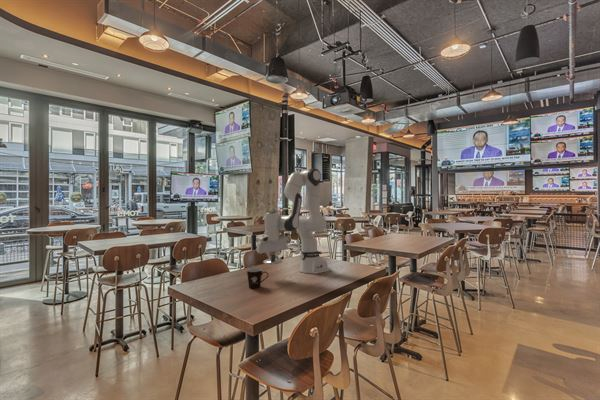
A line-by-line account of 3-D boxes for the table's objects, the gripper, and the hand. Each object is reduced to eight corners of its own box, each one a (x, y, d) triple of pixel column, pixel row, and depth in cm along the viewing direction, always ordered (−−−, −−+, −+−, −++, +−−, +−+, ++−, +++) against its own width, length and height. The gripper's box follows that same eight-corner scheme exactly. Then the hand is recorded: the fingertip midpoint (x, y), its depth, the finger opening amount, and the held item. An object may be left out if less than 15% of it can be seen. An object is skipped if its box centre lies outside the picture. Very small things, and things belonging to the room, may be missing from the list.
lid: (277, 258, 198) (277, 251, 198) (285, 262, 187) (285, 254, 187) (260, 261, 192) (260, 254, 192) (268, 265, 182) (267, 257, 181)
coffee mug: (244, 288, 172) (244, 271, 171) (251, 284, 180) (251, 267, 180) (262, 290, 168) (262, 272, 168) (269, 286, 176) (269, 269, 176)
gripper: (284, 234, 197) (285, 255, 198) (255, 237, 187) (256, 259, 187) (288, 235, 191) (289, 257, 192) (259, 239, 181) (259, 261, 182)
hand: (272, 258), depth 190 cm, fingers closed on lid, 3 cm apart
